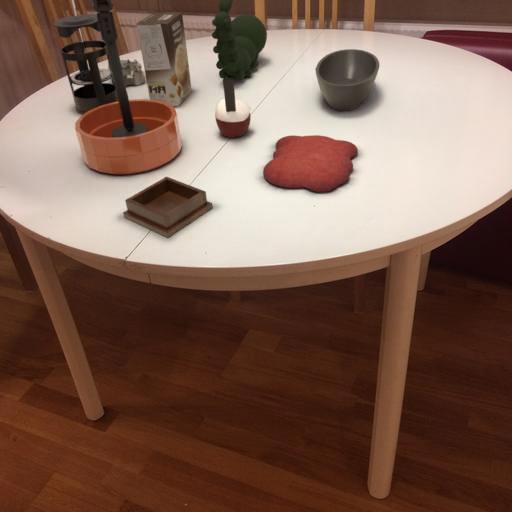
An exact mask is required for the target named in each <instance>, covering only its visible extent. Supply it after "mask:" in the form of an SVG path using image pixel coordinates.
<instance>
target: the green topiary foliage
mask: <svg viewBox="0 0 512 512" xmlns="http://www.w3.org/2000/svg"><path fill="white" fill-rule="evenodd" d="M218 2H219V3H218V10H219V12H217V13H216V14H215V16H214V18H213V19H212V21H211V24H212V26H214V27H215V29H214V31H212V33H211V37H212V39H214V40H216V42H215V43H216V44H215V46H213V47H212V52H213V53H214V54H217V59H218V60H217V62H215V66H216V68H217V69H218V70H219V71H218V76H219V78H220V79H222V80H223V79H224V78H229V77H230V76H235V78H236V79H237V80H243V79H244V78H245V77H246V78H250V77H252V75H253V71H252V70H255V69H256V68H258V65H259V60H258V59H259V56H260V55H259V54H260V53H261V52H262V51H263V50H264V48H265V46H266V43H267V40H268V39H267V37H268V32H267V28H266V27H265V25H264V23H263V22H262V20H261V19H260V18H259V17H257V16H255V15H253V14H251V13H243V14H240V15H238V16H236V17H234V18H233V19H232V17H231V16H230V14H229V13H230V11H231V9H232V6H233V4H234V0H219V1H218Z"/></svg>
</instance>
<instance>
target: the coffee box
mask: <svg viewBox="0 0 512 512" xmlns="http://www.w3.org/2000/svg"><path fill="white" fill-rule="evenodd" d="M183 16H184V15H183V12H182V11H181V12H180V11H179V12H178V11H166V12H163V11H162V12H153V13H151V14H149V15H148V16H146V17H145V18H143V19H141V20H140V21H138V22H137V23H136V29H137V34H138V39H139V45H140V53H141V57H142V63H143V64H142V65H143V67H144V68H143V69H144V74H145V75H144V76H145V79H146V85H147V91H148V96H149V100H158V101H162V102H165V103H168V104H170V105H171V106H173V107H179V106H180V105H181V104H182V103H183V102H184V101H185V99H187V98H188V96H189V95H190V94H191V93H192V91H193V88H192V81H191V73H190V65H189V56H188V48H187V41H186V33H185V32H186V31H185V26H184V18H183Z"/></svg>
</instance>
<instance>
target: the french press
mask: <svg viewBox="0 0 512 512" xmlns="http://www.w3.org/2000/svg"><path fill="white" fill-rule="evenodd" d="M71 3H72V7H73V10H74V12H73V13H74V15H72V16H67V17H63V18H59V19H57V20H55V21H54V22H53V27H55V28H56V29H57V33H58V36H59V37H60V38H63V39H67V38H71V36H72V35H74V33H75V32H77V31H79V36H80V40H78V41H77V40H76V41H73V42H72V43H69V44H66V45H65V46H62V47H61V48H60V53H61V57H62V60H63V64H64V69H65V72H66V76H67V79H68V83H69V87H70V90H71V94H72V98H73V102H74V105H75V107H74V109H75V111H76V113H78V114H81V115H83V114H85V113H86V112H88V111H89V110H92V109H94V108H97V107H99V106H102V105H105V104H109V103H113V102H117V101H118V97H117V92H116V88H115V83H114V79H113V74H112V70H111V66H110V61H109V57H108V52H107V48H106V43H105V41H103V40H84V38H83V36H84V35H83V33H82V28H91V29H92V30H94V31H96V32H99V33H101V32H100V28H99V23H98V19H97V14H79V15H78V12H77V7H76V3H75V0H71ZM88 48H89V49H91V48H98V49H97V50H93V51H88V52H87V49H88ZM70 52H74V53H70ZM104 56H106V58H107V64H108V63H109V67H110V70H109V69H107V68H99V67H100V66H99V63H98V58H101V57H104ZM67 61H69V62H77V67H78V70H79V71H78V72H76V73H74V74H72V75H71V74H70V70H69V67H68V64H67ZM110 79H111V80H112V83H110V82H107V81H109V80H110ZM73 85H76V86H80V87H78V88H76V89H74V86H73Z"/></svg>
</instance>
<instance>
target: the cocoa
mask: <svg viewBox="0 0 512 512" xmlns="http://www.w3.org/2000/svg"><path fill="white" fill-rule="evenodd" d="M234 80H235V79H234V78H233V77H227V78H224V79H222V85H223V95H224V98H220V99H218V100H217V102H216V105H215V110H214V118H215V122H216V125H217V128H218V130H219V133H221V135H223V136H225V137H226V138H233V139H234V138H239V137H242V136H243V135H245V134H246V133H247V132H248V130H249V128H250V124H251V115H252V114H251V110H252V108H251V106H250V105H249V104H248V103H247V102H245V101H244V100H242V99H239V98H236V92H235V81H234Z"/></svg>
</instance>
